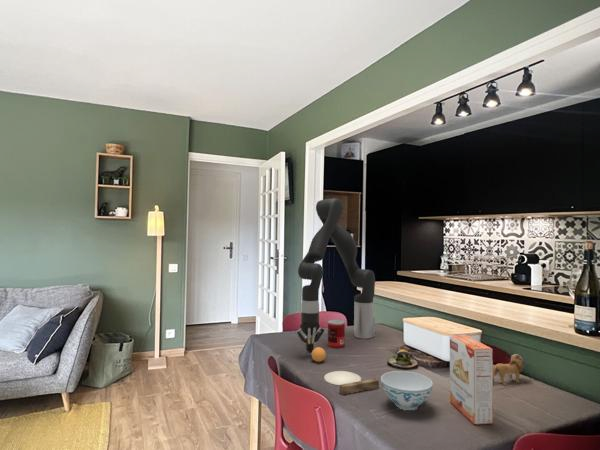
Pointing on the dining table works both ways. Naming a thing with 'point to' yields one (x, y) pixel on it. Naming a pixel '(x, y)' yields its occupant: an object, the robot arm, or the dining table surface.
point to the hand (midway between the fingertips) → (309, 352)
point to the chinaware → (406, 388)
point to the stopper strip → (358, 386)
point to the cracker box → (471, 378)
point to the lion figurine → (509, 368)
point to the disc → (341, 377)
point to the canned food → (336, 333)
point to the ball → (318, 354)
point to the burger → (402, 360)
